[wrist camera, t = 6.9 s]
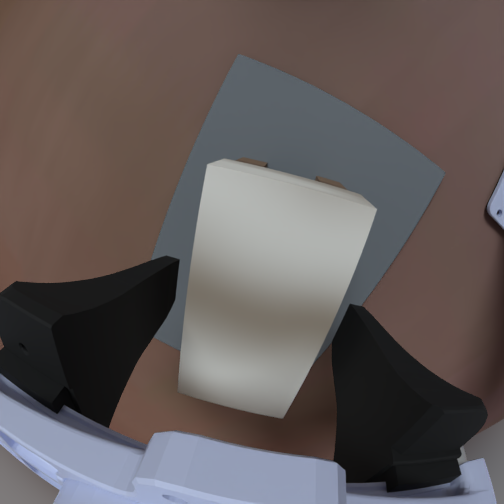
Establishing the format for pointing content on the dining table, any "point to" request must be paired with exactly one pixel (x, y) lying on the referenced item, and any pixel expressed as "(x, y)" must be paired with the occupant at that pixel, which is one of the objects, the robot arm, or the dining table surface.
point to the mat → (300, 171)
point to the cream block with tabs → (265, 282)
